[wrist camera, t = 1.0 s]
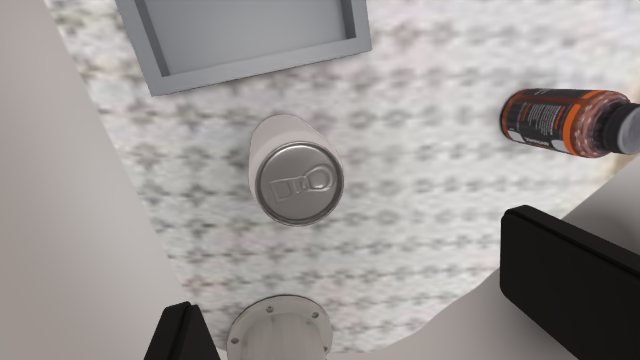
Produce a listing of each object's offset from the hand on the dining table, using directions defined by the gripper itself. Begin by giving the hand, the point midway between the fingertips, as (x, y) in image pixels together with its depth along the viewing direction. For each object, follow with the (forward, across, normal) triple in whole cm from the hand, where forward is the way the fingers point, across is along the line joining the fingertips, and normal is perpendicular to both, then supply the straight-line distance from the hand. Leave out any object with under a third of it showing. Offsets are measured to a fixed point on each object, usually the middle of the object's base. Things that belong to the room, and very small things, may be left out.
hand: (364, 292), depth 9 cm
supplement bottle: (+23, -27, +3) cm, 35 cm away
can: (+23, 0, 0) cm, 23 cm away
